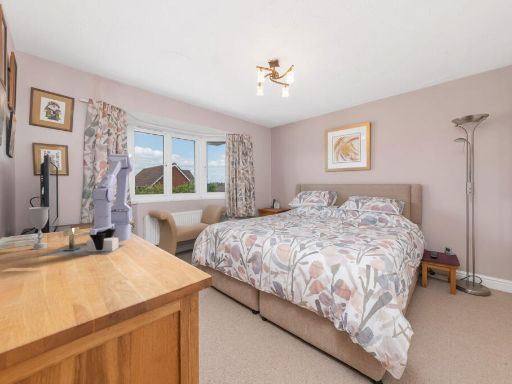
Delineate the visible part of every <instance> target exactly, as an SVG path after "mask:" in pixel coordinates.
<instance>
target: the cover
mask: <svg viewBox="0 0 512 384" xmlns="http://www.w3.org/2000/svg"><path fill="white" fill-rule="evenodd" d="M86 245H87V251H113V252H115V251H116V250H115V249H117V248H118V245H119V241H118V238H104V242H103V249H102V250H96V248H95V244H94V242H93V240H92V238H91V239H87V240H86ZM114 250H115V251H114ZM117 250H118V249H117Z"/></svg>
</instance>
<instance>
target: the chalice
mask: <svg viewBox="0 0 512 384" xmlns="http://www.w3.org/2000/svg"><path fill="white" fill-rule="evenodd" d="M49 209H50V206H38V207H37V206H36V207H29V208H28V210H29V221H30V222H31V224H32V226H33V227H34V228H35V229H37V230H38V231H37V237H36V238H37V242H36V243H34V245H33V247H32V248H31V250H33V251H34V250H35V251H36V250H43V249H47V248H48V245H47V244H46V243H45V242H43V241H42V238H43V236H42V234H43V232H42V229H43V228H45V226H46V224H47V222H48V220H49Z"/></svg>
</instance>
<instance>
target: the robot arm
mask: <svg viewBox="0 0 512 384" xmlns="http://www.w3.org/2000/svg"><path fill="white" fill-rule="evenodd" d="M107 162H108V169H107V172H106V174H104V175H102V177H101V178H100V179H101V180H100V181H99V183H98V185H97V187H96V188H94V189H93V190H92V191H91V200H92V205H93V206H94V226H92V227H91V229H89V232H90V234H89V235H88V236H89V237H90V238H91V239H92V240H93V242H94V244H95V248H96V250H102V249H103V242H104V238H118V242H124V241H127V240H129V239H132V238H133V237H132V225H131V224H130V223H131V222H132V221H133V217H134V216H133V214H134V213H133V208H132V207H131V206H129V205H128V204H127V202H128V189H129V179H130V178H129V177H130V173H132V172H133V168H134V157H133V155H132V154H130V153H128V154H127V153H126V154H124V153H109V154H108V156H107ZM116 177H117V178H116ZM115 187H116V193H114V192H115V190H114V189H115ZM114 194H115V204H114V205H112V201H113V199H114Z"/></svg>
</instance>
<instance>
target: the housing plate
mask: <svg viewBox="0 0 512 384" xmlns="http://www.w3.org/2000/svg"><path fill="white" fill-rule="evenodd" d="M124 246H125V244H118V248H117V249H115V250H114V251H87V244H79V245H78V244H77V245H76V244H75V248H72V249H69V245H67V246H64V247H61V248H58V249H55V250H53V251H50V252H47V253H45V254H43V255H41V256H42V257H43V256H45V257H49V256H51V257H52V256H108V255H110V254H111V253H113V252H115V251H117V250H119V249H120V248H122V247H124Z"/></svg>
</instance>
